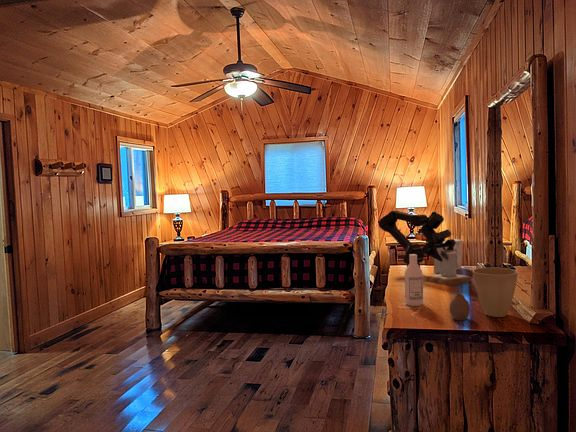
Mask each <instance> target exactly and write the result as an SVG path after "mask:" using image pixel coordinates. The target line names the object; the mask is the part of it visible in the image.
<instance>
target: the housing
mask: <svg viewBox="0 0 576 432" xmlns="http://www.w3.org/2000/svg"><path fill="white" fill-rule="evenodd" d="M441 258H442V260H443V261H442V262H441V276H444V277H454V276H457V274H458V273H457V270H456V251H451V250H445V251H441Z"/></svg>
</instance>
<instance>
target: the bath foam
mask: <svg viewBox="0 0 576 432" xmlns="http://www.w3.org/2000/svg"><path fill="white" fill-rule="evenodd" d="M409 261H410V264H409V265H408V267H407V266H406V268H405V271H404V298H405V299H404V302H405V304H406V305H407V306H409V307H410V306H411V307H419V306H423V304H424V281H423V280H424V276H423V271H422V269H421V266H420V267H419V266H418V264H417V255H416V254H410V255H409Z"/></svg>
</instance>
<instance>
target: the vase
mask: <svg viewBox="0 0 576 432" xmlns="http://www.w3.org/2000/svg"><path fill="white" fill-rule="evenodd" d="M470 305H471V304H470V302H469V301H468V299H466V298H465V296H464V293H463V294H462V293H456V294H455V296H454V297H453V299H452V300H451V301H450V304H449V313H450V316H451V317H452V319H454V320H455V321H466V320H467V319H468V318H469V317H470V314H471V306H470Z"/></svg>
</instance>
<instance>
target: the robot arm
mask: <svg viewBox="0 0 576 432" xmlns="http://www.w3.org/2000/svg"><path fill="white" fill-rule="evenodd" d="M444 219H445V218H444V216H443V215H441V214H440V213H437V212H436V211H432V212H431V213H430V215H429V216H428V215H426V214H412V213H408V212H404V211H400V210H391V211H390V212H388V213H387V214H385V215H384V216H383V217H381V218H380V219H379V220H378V227H379V228H380V229H381V230H382V231H384V232H386V233H389V234H390V236H392V238H393V239H394V240H396V242H397V243H398V244H399V245H400V246H401V247H402V248H403V250H404V253H405V256H404V258H403V263H404V264H406V268H407V267H408V265H409V264H410V261H409V255H410V254H416V255H417V264H418V266H419V267H420V268H421V263H423V261H424V258H425V255H426V256H429V257H432V258H433V259H434V258H435V259H437V260H439V261H440V262H442V261H443V260H442V258H441V256H440V255H439V253H438V251H437V248H443V250H451V251H454V246H455V244H456V242H455V240H454V239H455V238H451V239H447V238H450V237H451V235H452V232H451V231H450V229H445V230H442V231H439V232H436V230H438V229H439V227H440V226H441V225H442V223H443V222H444V221H445V220H444ZM398 220H400V221H403V222H407V223H409V224H410V225H412V226H413V227H420V228H418V230H417V234H418V235H422V236H424V238H425V239H426V240H425V242H426V243H425V244H424V245H423V246H422V247H421V245H419V244H418V243H412V242H411V241H410V239H408V238H407V237H406V236H405V235H404V233H403V232H402V231H400V229H399V228H398V227H397V223H398ZM446 239H447V240H446ZM444 241H446V242H445V243H443V242H444Z"/></svg>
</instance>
